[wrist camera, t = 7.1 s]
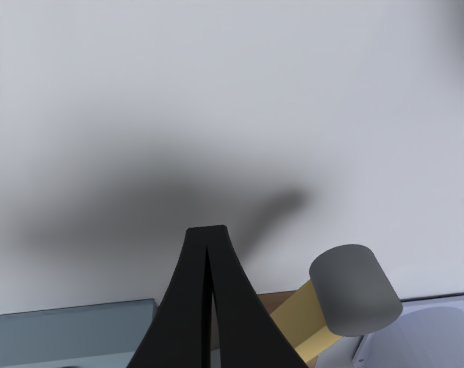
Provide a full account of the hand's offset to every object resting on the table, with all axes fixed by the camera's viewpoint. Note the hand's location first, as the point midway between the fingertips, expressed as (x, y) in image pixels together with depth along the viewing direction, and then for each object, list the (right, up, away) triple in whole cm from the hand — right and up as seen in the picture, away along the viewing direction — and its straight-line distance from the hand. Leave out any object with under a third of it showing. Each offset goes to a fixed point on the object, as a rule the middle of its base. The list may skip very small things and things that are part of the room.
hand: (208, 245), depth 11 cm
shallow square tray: (-9, -9, +11) cm, 17 cm away
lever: (+1, -6, +4) cm, 8 cm away
